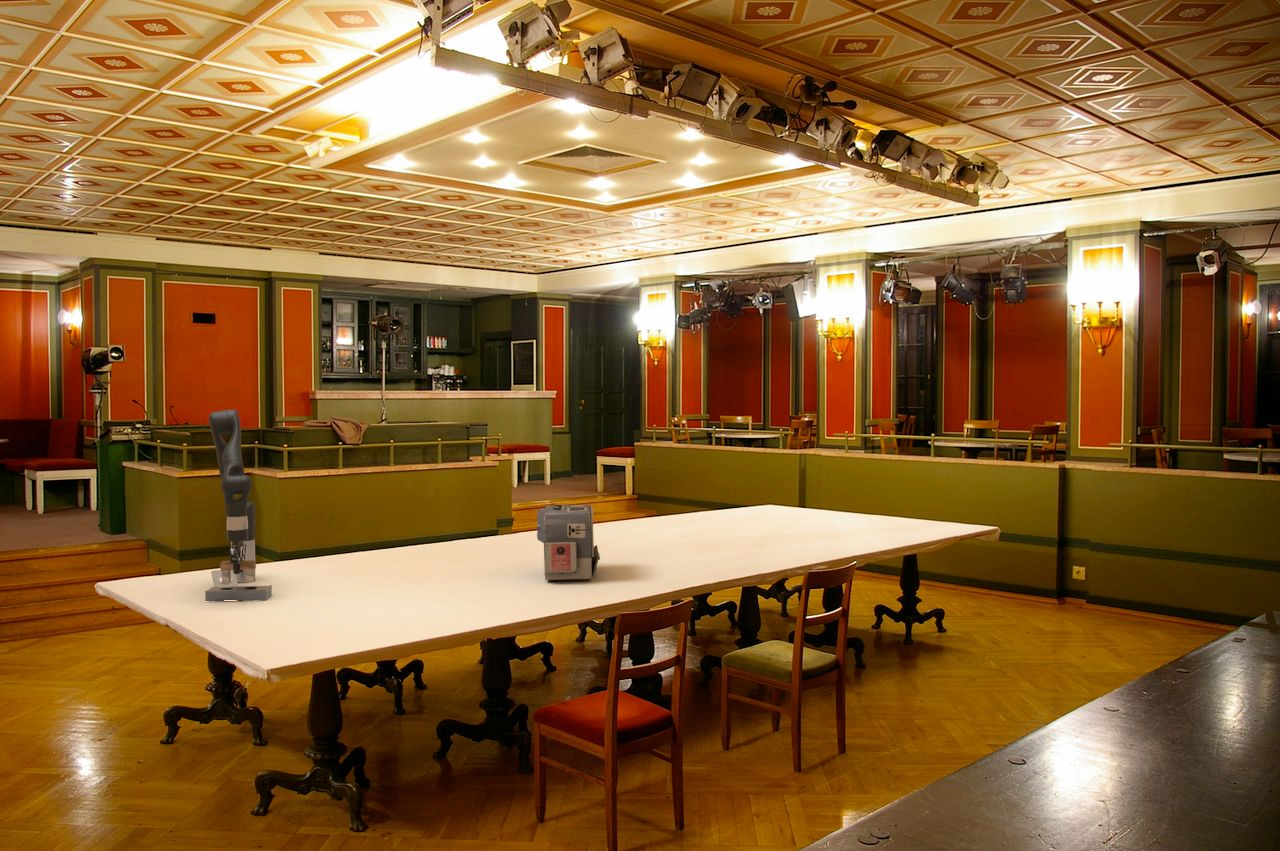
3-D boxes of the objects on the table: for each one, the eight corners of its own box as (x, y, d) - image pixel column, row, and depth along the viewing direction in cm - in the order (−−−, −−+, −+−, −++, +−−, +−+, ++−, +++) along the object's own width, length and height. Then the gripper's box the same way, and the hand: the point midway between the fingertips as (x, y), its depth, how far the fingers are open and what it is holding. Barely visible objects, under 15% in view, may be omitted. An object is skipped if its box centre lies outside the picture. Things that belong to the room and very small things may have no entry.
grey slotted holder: (212, 597, 364) (212, 587, 364) (271, 595, 367) (271, 585, 367) (205, 602, 357) (205, 591, 356) (265, 600, 359) (265, 589, 359)
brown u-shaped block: (223, 581, 362) (223, 560, 362) (256, 580, 364) (255, 560, 363) (220, 583, 359) (220, 562, 359) (253, 582, 360) (253, 561, 360)
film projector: (598, 585, 384) (598, 511, 383) (526, 585, 385) (525, 511, 383) (604, 566, 423) (603, 500, 422) (538, 567, 424) (538, 500, 423)
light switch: (216, 591, 367) (211, 568, 378) (215, 603, 370) (210, 580, 380) (240, 589, 371) (234, 566, 382) (239, 601, 374) (233, 578, 385)
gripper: (233, 525, 367) (234, 569, 368) (220, 530, 353) (221, 576, 354) (253, 525, 368) (254, 569, 369) (241, 530, 354) (242, 576, 355)
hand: (238, 572), depth 361 cm, fingers closed on brown u-shaped block, 3 cm apart
